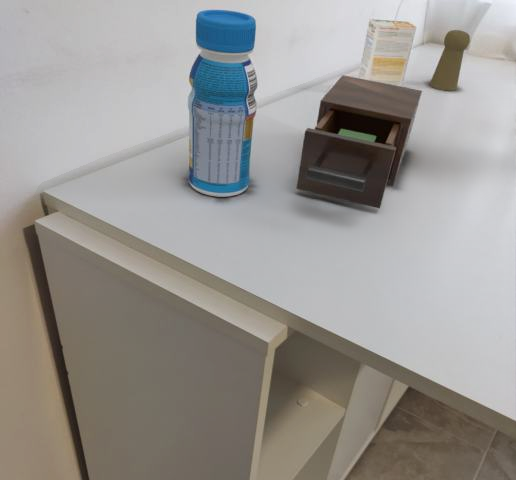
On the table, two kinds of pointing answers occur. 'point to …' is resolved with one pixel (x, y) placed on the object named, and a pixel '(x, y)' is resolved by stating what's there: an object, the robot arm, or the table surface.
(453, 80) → the olive pawn
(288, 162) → the table surface
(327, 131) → the drawer
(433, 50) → the table surface
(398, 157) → the cabinet
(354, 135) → the block
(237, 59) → the beverage bottle
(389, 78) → the supplement box
